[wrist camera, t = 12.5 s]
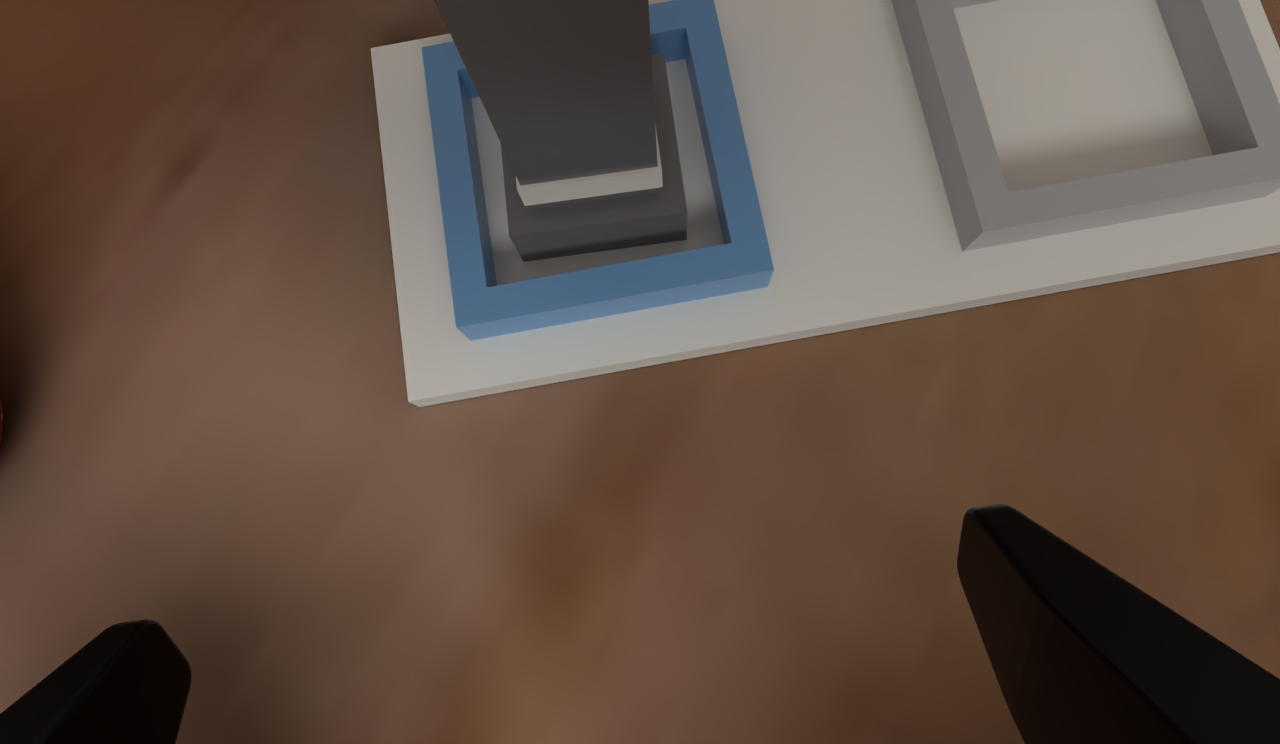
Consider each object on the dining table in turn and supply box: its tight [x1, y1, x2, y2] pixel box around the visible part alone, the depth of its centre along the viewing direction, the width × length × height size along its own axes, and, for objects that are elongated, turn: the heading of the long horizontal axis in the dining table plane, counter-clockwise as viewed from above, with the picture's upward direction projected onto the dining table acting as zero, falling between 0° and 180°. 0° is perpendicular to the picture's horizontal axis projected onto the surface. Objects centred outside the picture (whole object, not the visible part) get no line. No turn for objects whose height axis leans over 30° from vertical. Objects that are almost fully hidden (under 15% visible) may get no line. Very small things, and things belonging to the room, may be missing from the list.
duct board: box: [371, 0, 1280, 407], centre depth 22 cm, size 28×12×2 cm, turn 100°
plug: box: [435, 0, 687, 262], centre depth 16 cm, size 5×5×13 cm
